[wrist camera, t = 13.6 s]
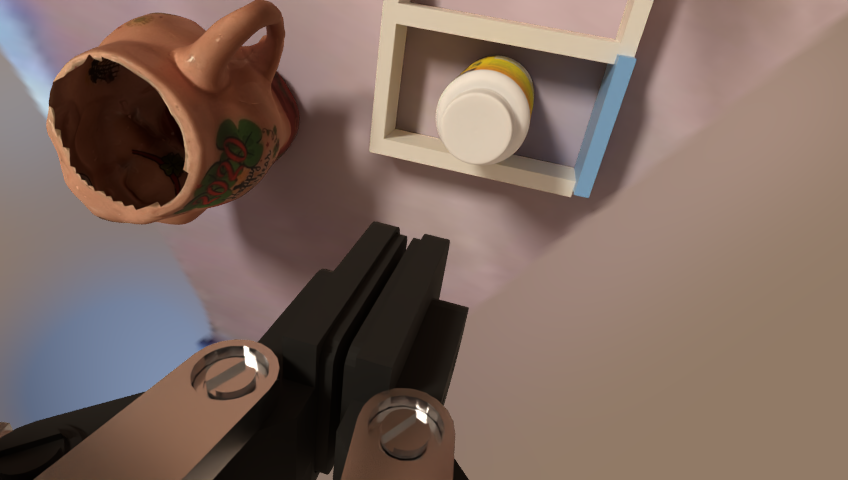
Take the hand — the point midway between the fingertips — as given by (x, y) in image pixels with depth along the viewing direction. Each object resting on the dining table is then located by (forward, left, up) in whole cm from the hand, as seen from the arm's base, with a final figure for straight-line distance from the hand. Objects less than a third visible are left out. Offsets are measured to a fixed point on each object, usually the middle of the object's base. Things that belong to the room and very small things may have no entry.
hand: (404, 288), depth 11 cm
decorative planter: (+20, +5, -28) cm, 34 cm away
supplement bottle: (+1, +1, -28) cm, 28 cm away
